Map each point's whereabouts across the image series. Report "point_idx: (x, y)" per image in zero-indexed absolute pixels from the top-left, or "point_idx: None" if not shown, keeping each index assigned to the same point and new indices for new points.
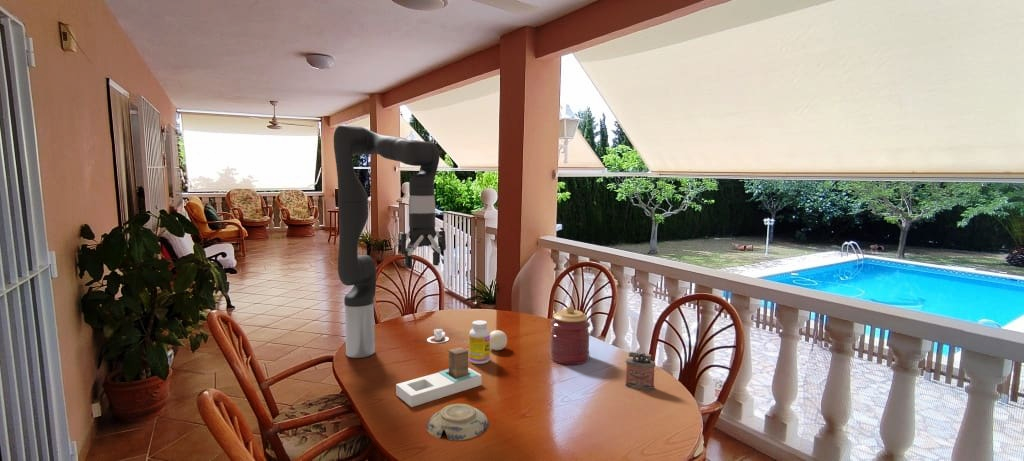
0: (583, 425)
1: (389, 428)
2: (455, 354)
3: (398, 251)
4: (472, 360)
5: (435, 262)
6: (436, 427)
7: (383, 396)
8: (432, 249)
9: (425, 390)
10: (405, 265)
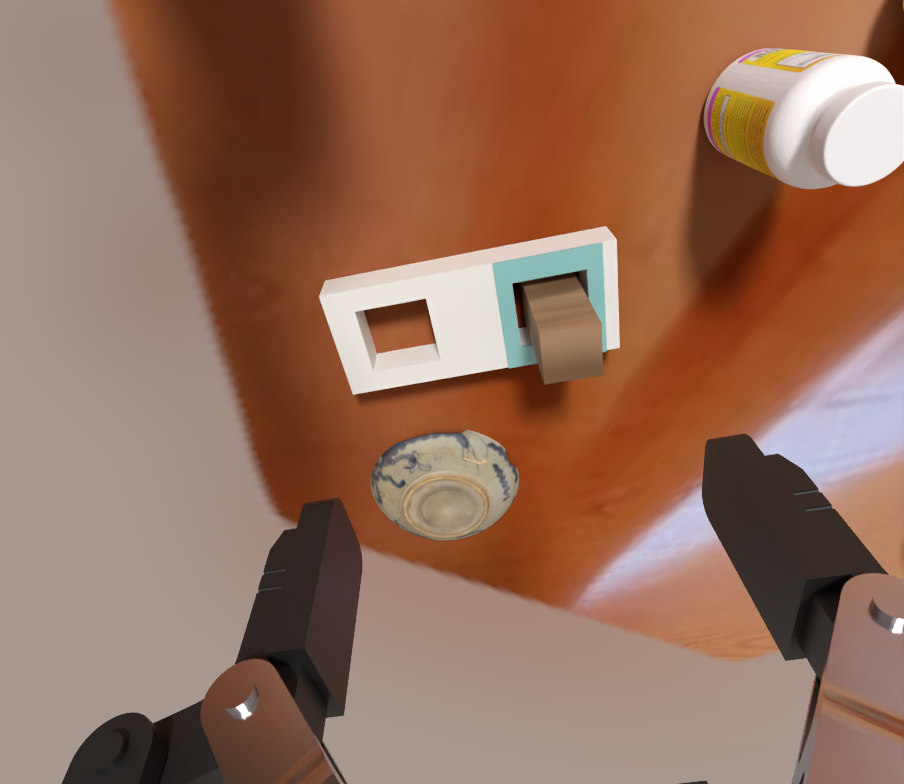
0: (673, 573)
1: (285, 447)
2: (543, 380)
3: (84, 773)
4: (707, 128)
5: (719, 515)
6: (385, 511)
7: (281, 272)
8: (828, 647)
9: (403, 378)
10: (278, 548)
